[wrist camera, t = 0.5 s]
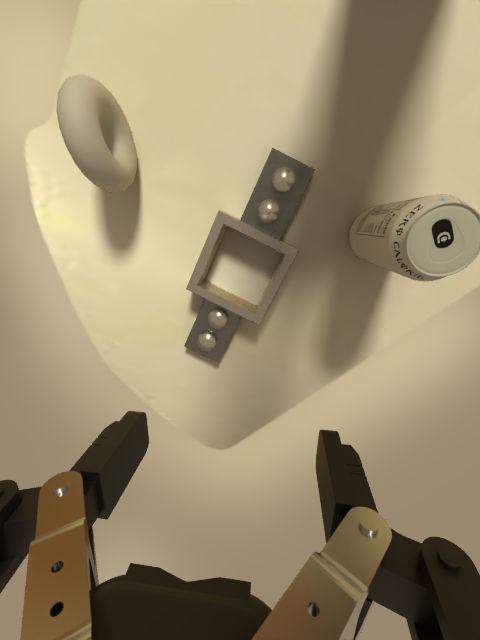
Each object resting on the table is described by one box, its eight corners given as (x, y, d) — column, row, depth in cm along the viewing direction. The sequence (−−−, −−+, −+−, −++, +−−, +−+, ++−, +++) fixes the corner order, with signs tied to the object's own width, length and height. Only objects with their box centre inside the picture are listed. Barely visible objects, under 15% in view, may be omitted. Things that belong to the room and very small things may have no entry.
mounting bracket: (254, 141, 32) (251, 132, 29) (331, 181, 33) (337, 176, 29) (172, 334, 41) (162, 344, 37) (234, 365, 41) (230, 377, 38)
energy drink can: (355, 268, 35) (407, 297, 21) (340, 218, 34) (387, 213, 19) (408, 249, 34) (502, 267, 20) (395, 197, 32) (488, 175, 18)
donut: (101, 103, 33) (31, 54, 24) (130, 97, 32) (69, 44, 23) (123, 198, 36) (68, 189, 26) (149, 194, 35) (103, 183, 26)
